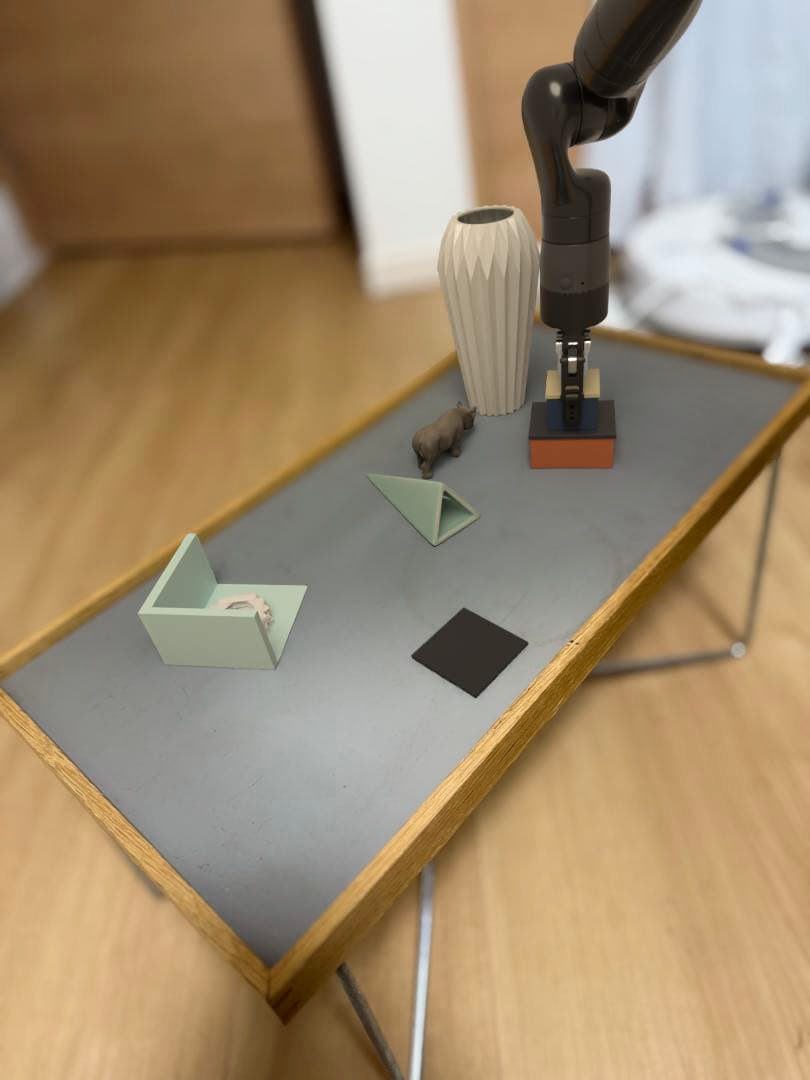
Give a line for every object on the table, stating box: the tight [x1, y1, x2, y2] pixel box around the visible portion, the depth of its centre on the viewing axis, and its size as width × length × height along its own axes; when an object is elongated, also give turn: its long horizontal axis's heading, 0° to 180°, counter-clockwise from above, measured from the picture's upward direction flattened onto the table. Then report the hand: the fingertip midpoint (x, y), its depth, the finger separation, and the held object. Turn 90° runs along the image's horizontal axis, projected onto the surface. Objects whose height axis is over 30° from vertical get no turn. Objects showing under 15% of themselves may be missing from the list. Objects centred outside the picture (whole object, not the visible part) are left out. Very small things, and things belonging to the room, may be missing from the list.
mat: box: [410, 606, 529, 699], centre depth 67 cm, size 8×8×1 cm
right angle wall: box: [137, 532, 309, 671], centre depth 73 cm, size 12×12×8 cm
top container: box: [544, 368, 601, 430], centre depth 87 cm, size 6×6×5 cm
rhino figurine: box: [411, 400, 477, 479], centre depth 93 cm, size 4×14×6 cm, turn 141°
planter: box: [366, 473, 481, 547], centre depth 87 cm, size 8×6×18 cm
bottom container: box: [527, 399, 617, 469], centre depth 90 cm, size 10×8×5 cm
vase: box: [436, 204, 540, 418], centre depth 95 cm, size 13×13×26 cm
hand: (572, 410), depth 88 cm, fingers closed on top container, 6 cm apart
